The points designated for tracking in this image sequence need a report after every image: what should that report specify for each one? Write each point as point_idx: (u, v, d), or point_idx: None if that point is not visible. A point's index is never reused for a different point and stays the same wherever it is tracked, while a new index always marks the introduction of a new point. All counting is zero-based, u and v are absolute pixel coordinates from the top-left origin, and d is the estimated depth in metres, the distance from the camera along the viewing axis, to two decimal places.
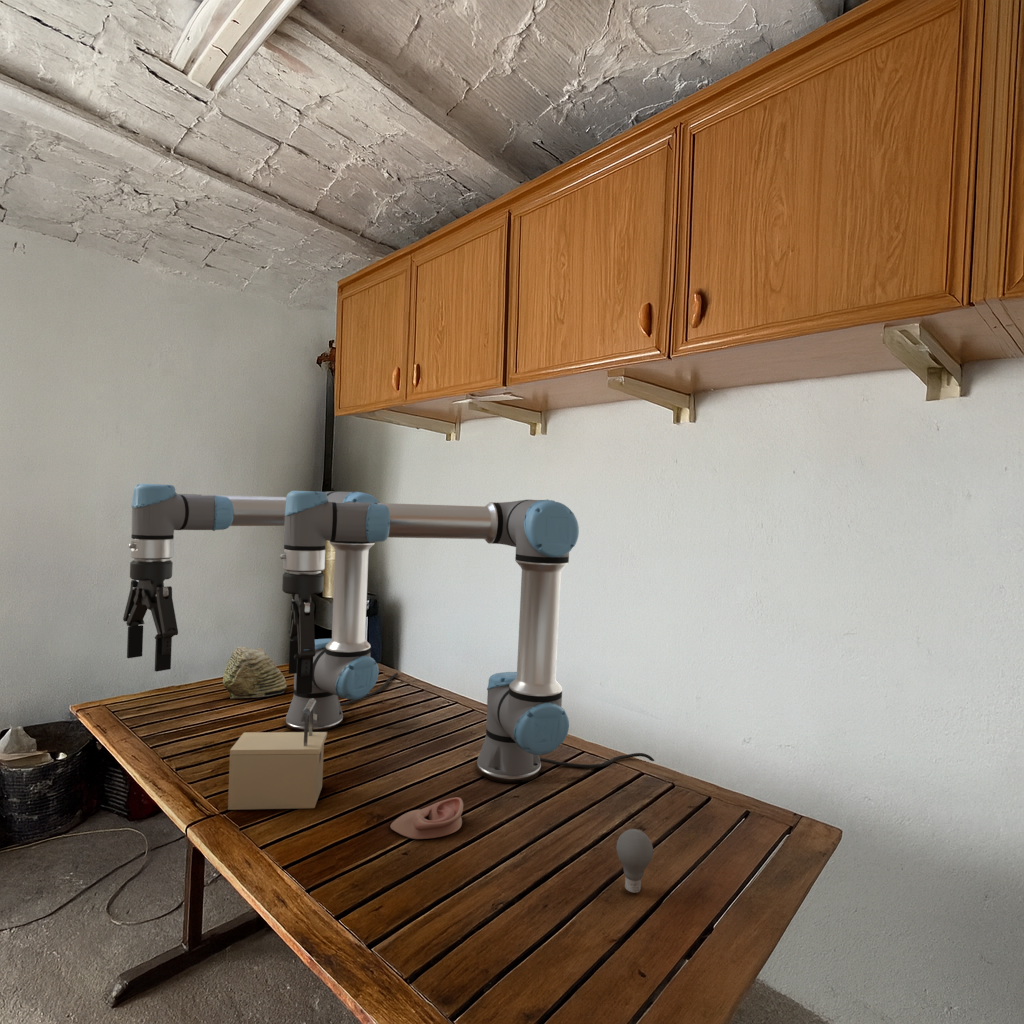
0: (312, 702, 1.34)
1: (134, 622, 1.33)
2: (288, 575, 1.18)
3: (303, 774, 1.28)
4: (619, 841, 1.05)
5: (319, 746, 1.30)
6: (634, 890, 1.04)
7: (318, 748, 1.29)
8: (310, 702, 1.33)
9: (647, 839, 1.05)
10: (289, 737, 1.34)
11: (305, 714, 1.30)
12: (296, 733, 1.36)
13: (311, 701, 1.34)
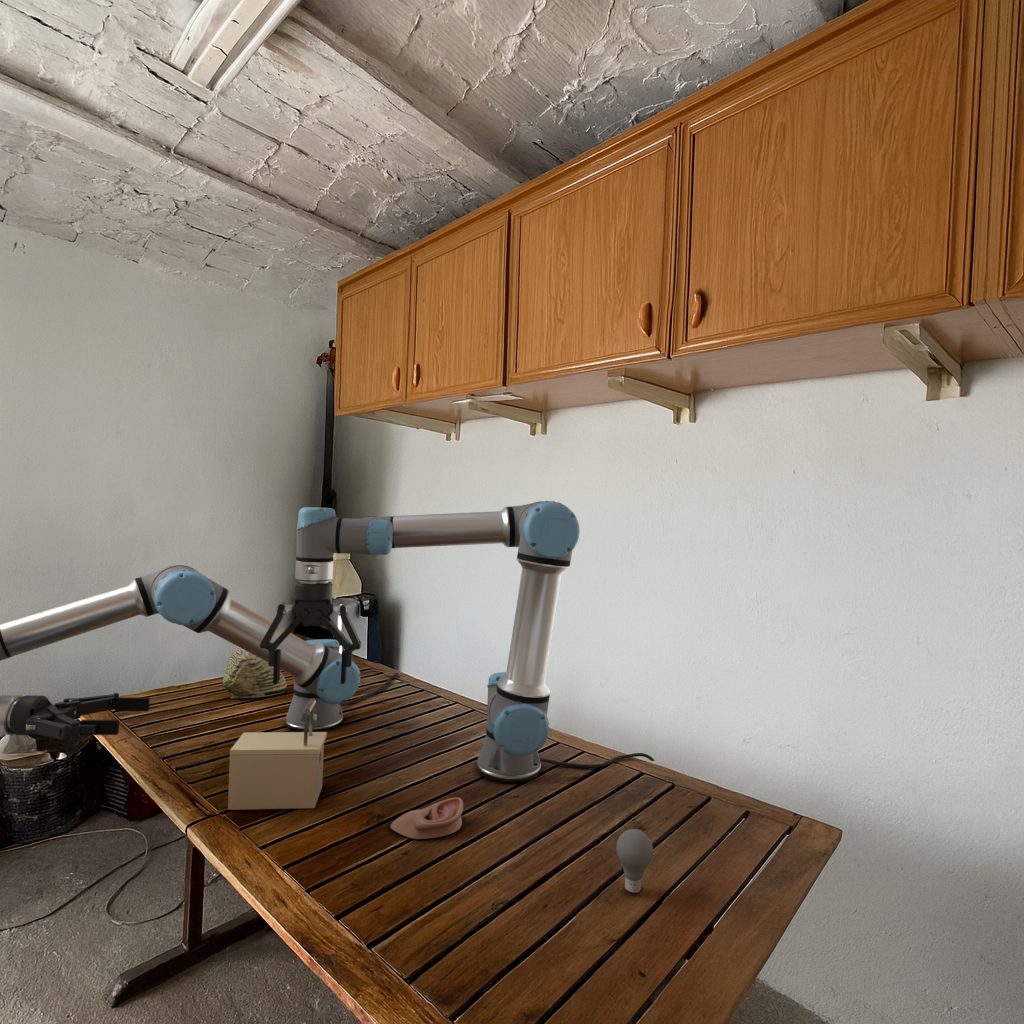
0: (312, 702, 1.34)
1: (112, 704, 1.34)
2: (321, 585, 1.30)
3: (303, 774, 1.28)
4: (619, 841, 1.05)
5: (319, 746, 1.30)
6: (634, 890, 1.04)
7: (318, 748, 1.29)
8: (310, 702, 1.33)
9: (647, 839, 1.05)
10: (289, 737, 1.34)
11: (305, 714, 1.30)
12: (296, 733, 1.36)
13: (311, 701, 1.34)
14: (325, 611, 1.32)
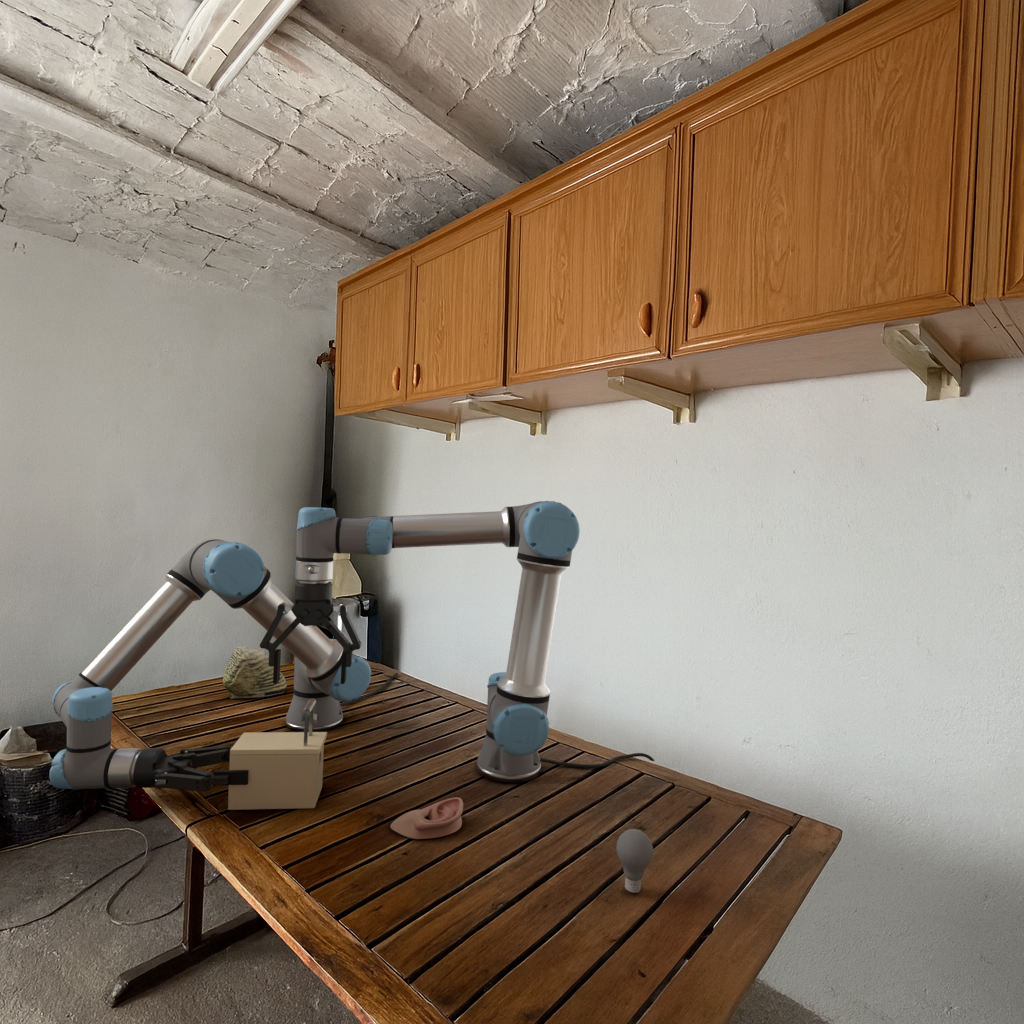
0: (312, 702, 1.34)
1: (225, 756, 1.36)
2: (321, 585, 1.30)
3: (303, 774, 1.28)
4: (619, 841, 1.05)
5: (319, 746, 1.30)
6: (634, 890, 1.04)
7: (318, 748, 1.29)
8: (310, 702, 1.33)
9: (647, 839, 1.05)
10: (289, 737, 1.34)
11: (305, 714, 1.30)
12: (296, 733, 1.36)
13: (311, 701, 1.34)
14: (325, 611, 1.32)
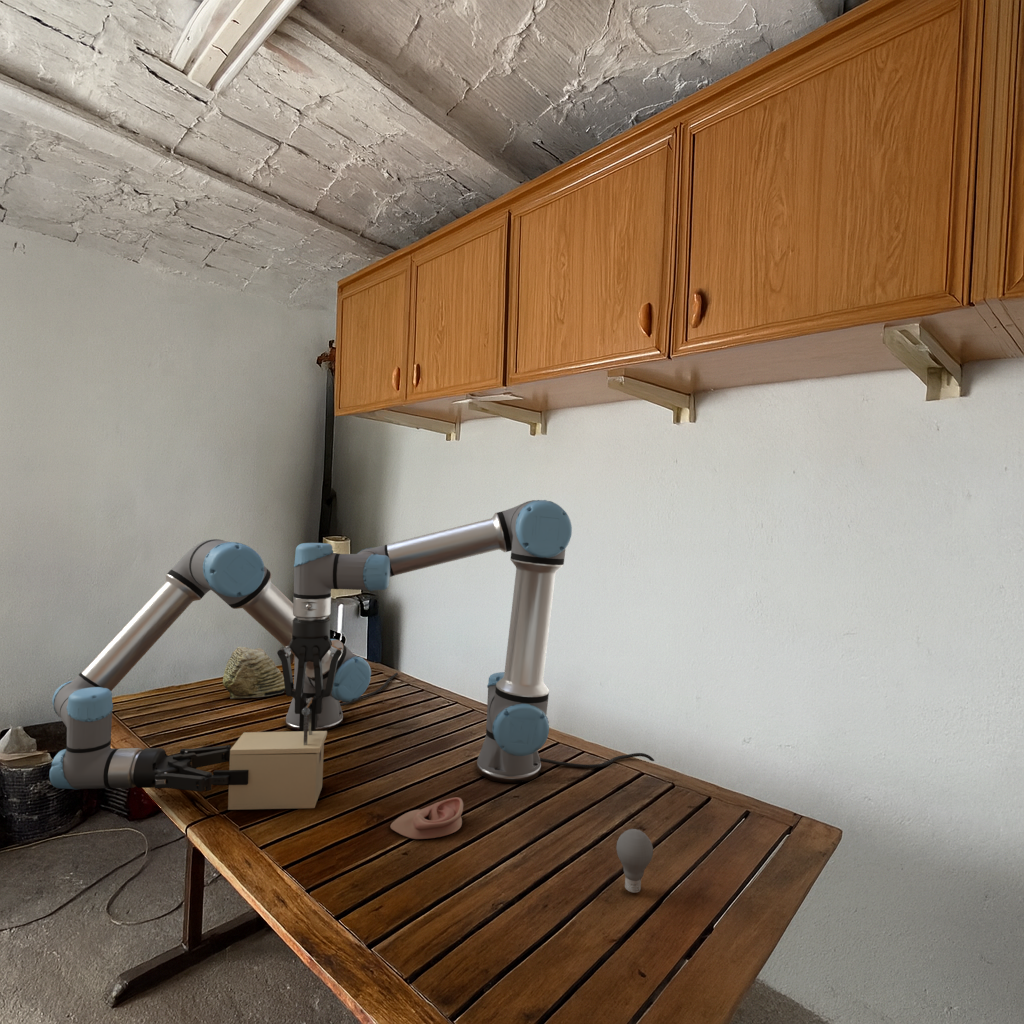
0: (311, 701, 1.34)
1: (225, 756, 1.36)
2: (319, 621, 1.30)
3: (303, 774, 1.28)
4: (619, 841, 1.05)
5: (319, 745, 1.30)
6: (634, 890, 1.04)
7: (318, 747, 1.29)
8: (309, 701, 1.33)
9: (647, 839, 1.05)
10: (289, 736, 1.34)
11: (304, 713, 1.30)
12: (296, 732, 1.36)
13: (310, 700, 1.34)
14: (323, 647, 1.32)
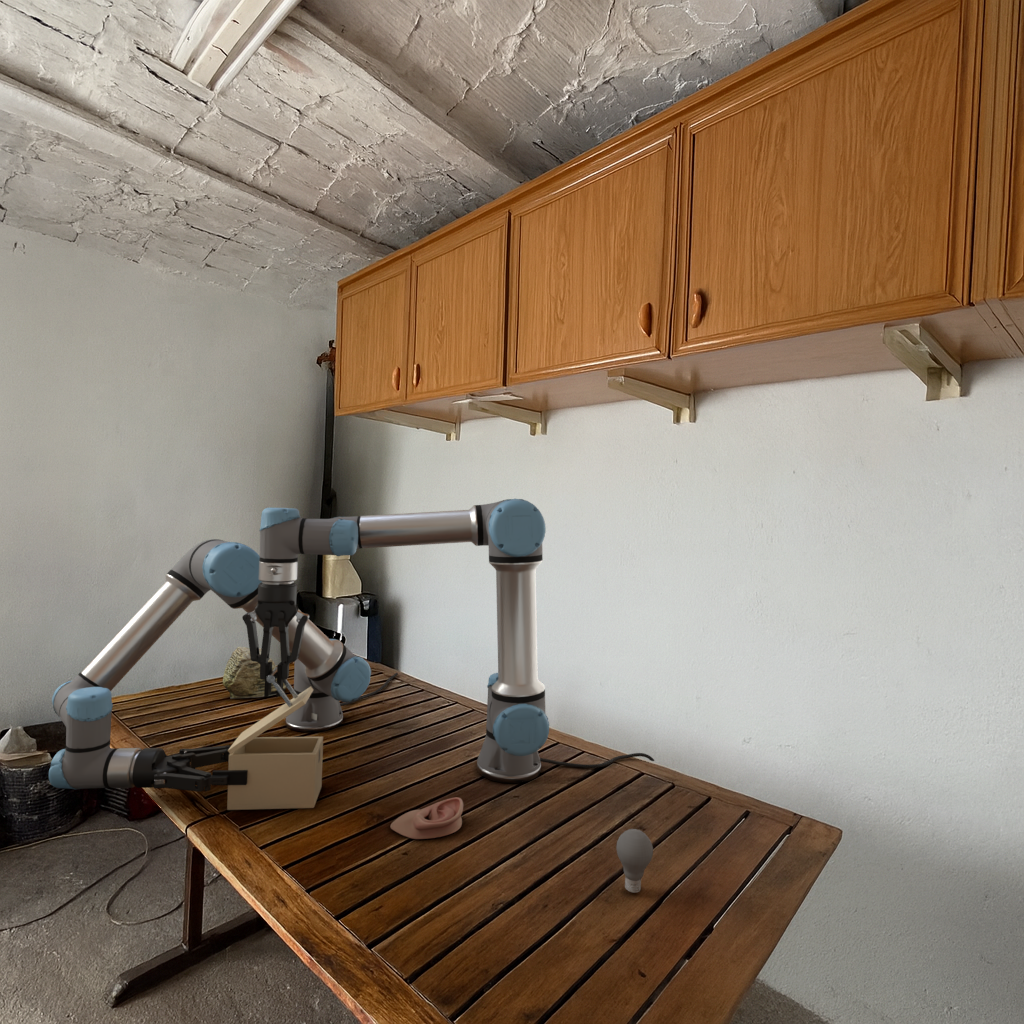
0: (275, 669, 1.33)
1: (225, 756, 1.36)
2: (284, 586, 1.29)
3: (302, 774, 1.28)
4: (619, 841, 1.05)
5: (302, 698, 1.29)
6: (634, 890, 1.04)
7: (301, 700, 1.28)
8: (273, 670, 1.32)
9: (647, 839, 1.05)
10: (279, 710, 1.34)
11: (271, 681, 1.28)
12: (285, 704, 1.36)
13: (274, 669, 1.33)
14: (289, 612, 1.31)
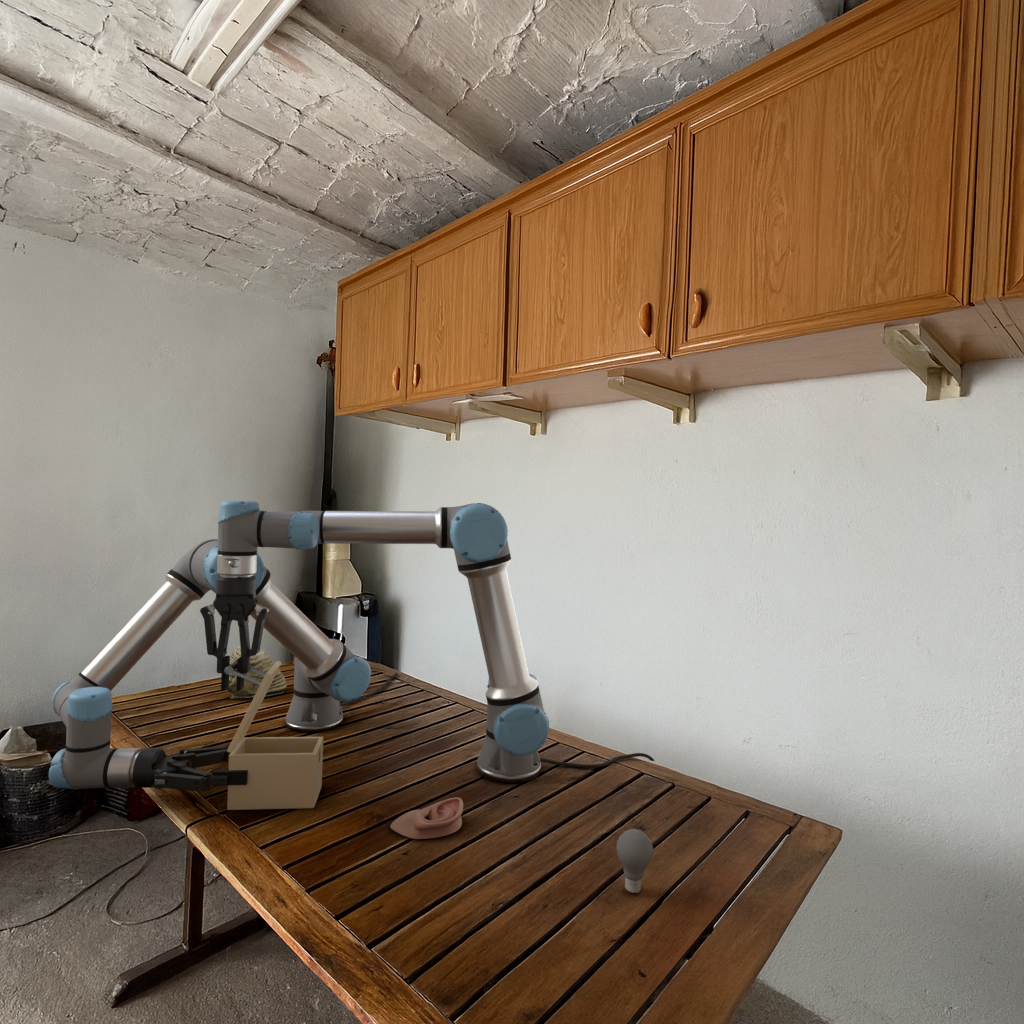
0: None
1: (225, 756, 1.36)
2: (242, 579, 1.28)
3: (302, 774, 1.28)
4: (619, 841, 1.05)
5: None
6: (634, 890, 1.04)
7: (266, 673, 1.27)
8: None
9: (647, 839, 1.05)
10: None
11: (229, 672, 1.27)
12: None
13: (232, 662, 1.32)
14: (247, 606, 1.30)
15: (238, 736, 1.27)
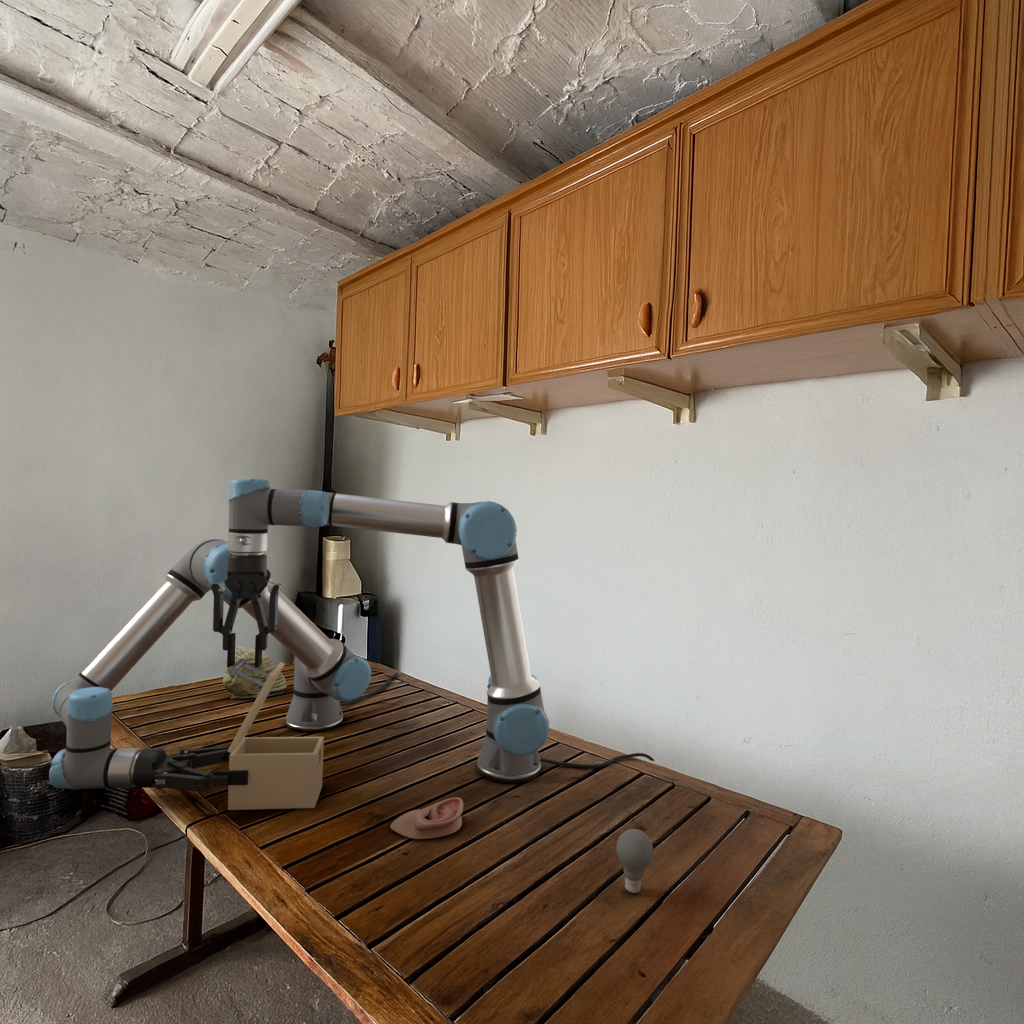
0: (236, 661, 1.32)
1: (225, 756, 1.36)
2: (253, 557, 1.28)
3: (303, 774, 1.28)
4: (619, 841, 1.05)
5: (271, 673, 1.28)
6: (634, 890, 1.04)
7: (269, 674, 1.27)
8: (234, 663, 1.31)
9: (647, 839, 1.05)
10: None
11: (233, 672, 1.27)
12: None
13: (235, 662, 1.32)
14: (259, 584, 1.30)
15: (239, 736, 1.27)
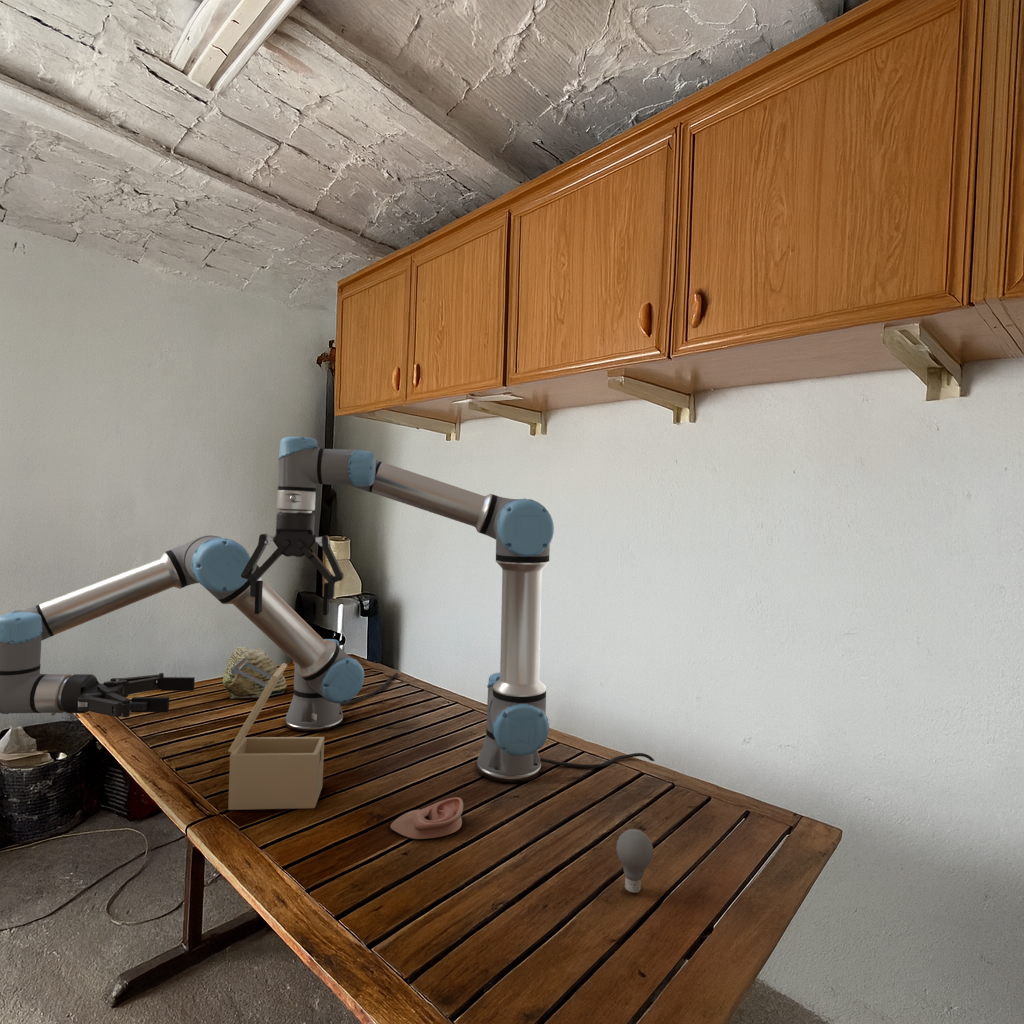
0: (239, 661, 1.32)
1: (158, 684, 1.35)
2: (303, 514, 1.29)
3: (303, 774, 1.28)
4: (619, 841, 1.05)
5: (273, 674, 1.28)
6: (634, 890, 1.04)
7: (272, 675, 1.27)
8: (237, 663, 1.31)
9: (647, 839, 1.05)
10: None
11: (236, 672, 1.28)
12: None
13: None
14: (307, 542, 1.31)
15: (240, 736, 1.27)
